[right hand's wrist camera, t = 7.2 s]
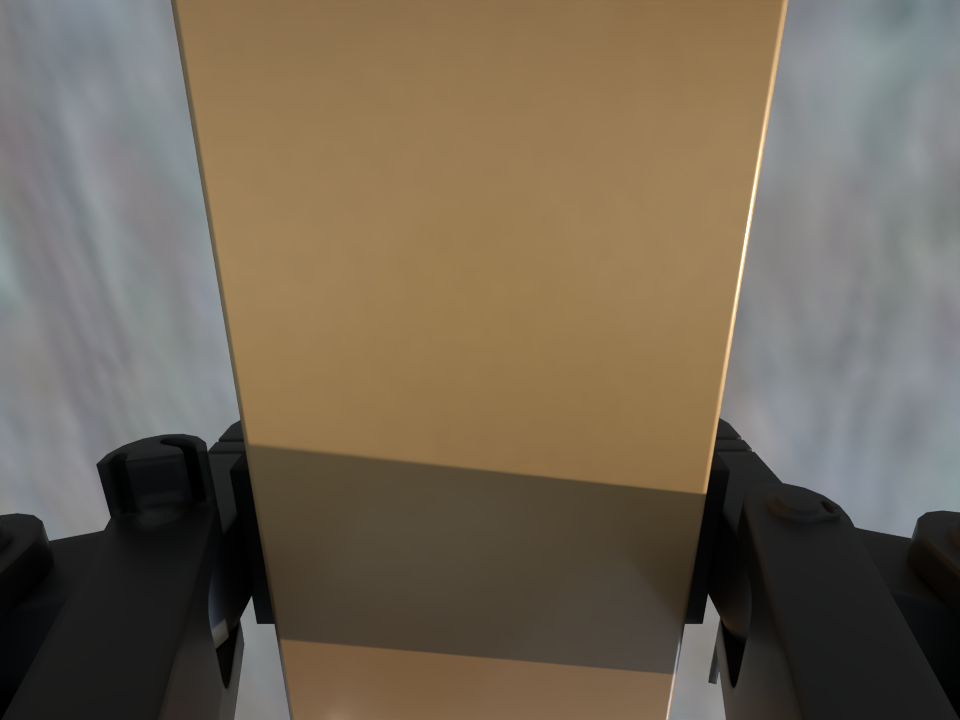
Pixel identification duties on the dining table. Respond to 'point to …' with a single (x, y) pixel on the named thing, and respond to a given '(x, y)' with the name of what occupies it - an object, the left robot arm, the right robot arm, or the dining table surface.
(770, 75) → the bar
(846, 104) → the dining table surface
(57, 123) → the dining table surface
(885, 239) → the dining table surface
